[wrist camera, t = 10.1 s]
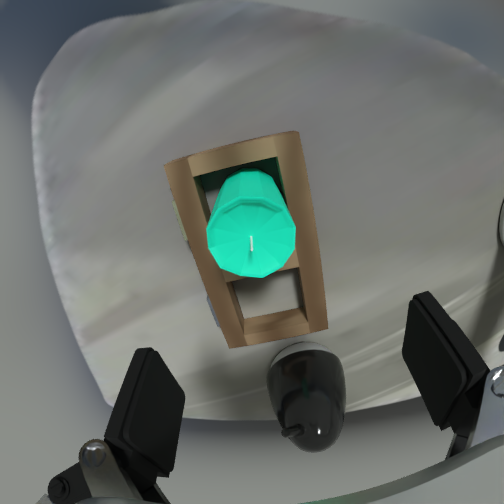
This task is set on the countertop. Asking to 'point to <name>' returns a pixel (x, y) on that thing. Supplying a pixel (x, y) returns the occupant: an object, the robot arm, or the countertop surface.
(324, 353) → the pump dispenser
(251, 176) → the candle
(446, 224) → the countertop surface
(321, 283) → the socket block
